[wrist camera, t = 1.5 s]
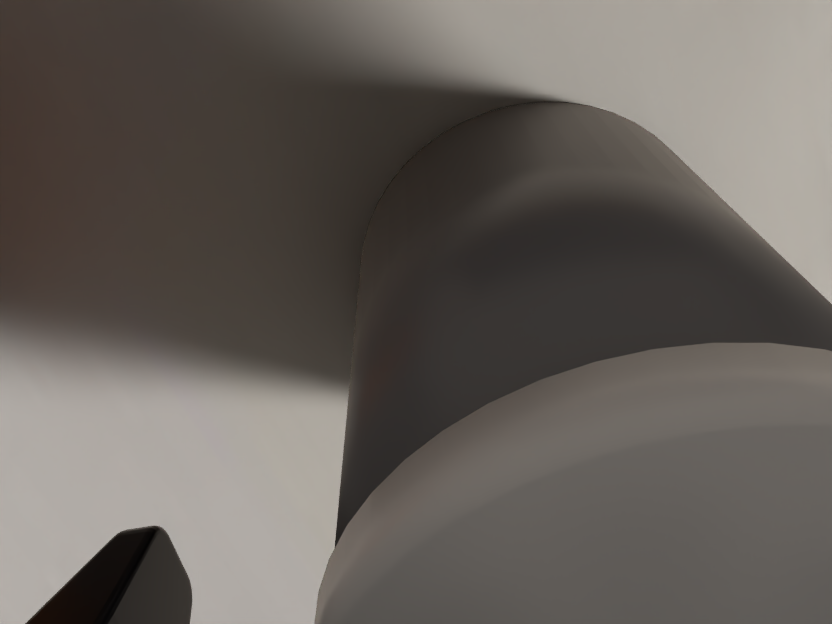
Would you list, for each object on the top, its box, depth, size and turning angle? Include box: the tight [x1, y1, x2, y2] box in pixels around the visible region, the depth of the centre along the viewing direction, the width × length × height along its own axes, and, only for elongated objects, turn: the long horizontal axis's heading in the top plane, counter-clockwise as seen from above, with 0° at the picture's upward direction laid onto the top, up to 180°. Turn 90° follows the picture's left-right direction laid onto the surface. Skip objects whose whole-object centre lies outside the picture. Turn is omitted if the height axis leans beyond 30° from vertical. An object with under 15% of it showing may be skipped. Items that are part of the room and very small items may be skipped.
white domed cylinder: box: [315, 102, 832, 624], centre depth 8 cm, size 5×5×7 cm
